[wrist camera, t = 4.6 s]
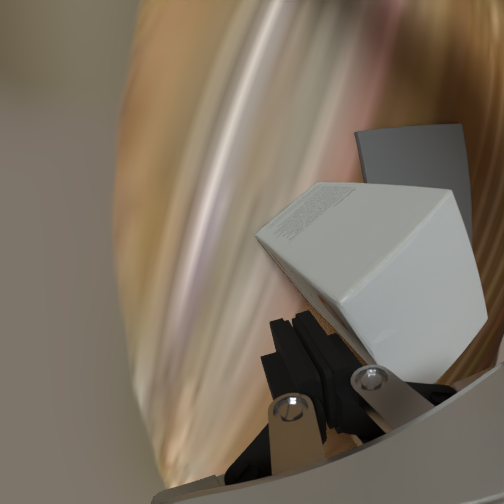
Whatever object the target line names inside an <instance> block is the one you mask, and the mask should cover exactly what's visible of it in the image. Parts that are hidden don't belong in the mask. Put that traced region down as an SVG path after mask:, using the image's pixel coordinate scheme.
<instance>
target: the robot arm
mask: <svg viewBox="0 0 504 504" xmlns="http://www.w3.org/2000/svg"><path fill="white" fill-rule="evenodd" d="M292 324H293V327H292V325H291V324H290V322H289V320H286V321H284V320H283V318H281V319H278V320H274V321H271V322H270V328H271V332H272V336H273V340H274V345H275V349H276V352H275V353H272V354H268V355H265V356H261V361H262V364H263V368H264V371H265V375H266V378H267V382H268V385H269V388H270V391H271V394H272V398H273V402H272V403H271V404H270V406H269V408H268V422H269V423H268V424H267V425H266V426H265V427H264V429H263V430H262V431H261V432H260V433H259V435H258V436H257V437H256V438H255V439H254V440H253V442H252V443H251V444H250V445H249V446H248V447H247V448H246V450H245V451H244V452H243V453H242V454H241V455H240V456H239V457H238V458H237V460H236V461H235V462H234V463H233V464H232V465H231V466H230V467H229V468H228V470H227V471H226V473H225V474H223V475H220V476H217V477H216V476H215V475H212V476H209V477H206V478H203V479H200V480H197V481H194V482H191V483H188V484H184V485H181V486H177V487H174V488H170V489H166V490H163V491H161V492H159V493H157V494H156V495H155V496H154V497H153V499H152V501H151V504H504V362H502V363H500V364H499V365H497V366H495V367H491V368H488V369H486V370H483V371H481V372H479V373H477V374H474V375H472V376H470V377H467V378H465V379H462V380H460V381H457V382H455V383H453V384H452V387H450V386H446V385H438V384H426V383H416V382H406V381H403V380H401V379H400V378H399V377H398V376H396V375H395V374H394V373H393V372H391V371H390V370H389V369H387V368H386V367H384V366H381V365H366V366H363V365H362V364H361V363H360V362H359V360H358V359H357V358H356V357H355V355H354V354H353V353H352V352H351V350H350V349H349V348H348V347H347V345H346V344H345V343H344V342H343V340H342V339H341V338H340V337H339V335H338V334H337V333H334V334H331V335H327V334H326V333H325V331H324V330H323V329H322V327H321V326H320V324H319V323H318V322H317V320H316V319H315V318H314V316H313V315H312V314H311V312H310V311H309V310H307V311H304V312H301V313H298V314H296V318H293V319H292ZM326 422H327V424H328V426H329V428H330V429H332V428H334V427H335V429H336V431H337V433H338V434H340V433H342V432H343V433H347V434H351V437H352V439H353V441H354V442H355V443H356V444H357V445H358V447H356V448H353V449H351V450H348V451H346V452H343V453H341V454H338V455H335V456H333V457H330V458H327V459H326V458H325V453H324V449H323V444H324V442H325V441H326V439H327V436H326Z"/></svg>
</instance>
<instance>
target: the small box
mask: <svg viewBox="0 0 504 504" xmlns="http://www.w3.org/2000/svg"><path fill="white" fill-rule="evenodd" d="M255 237H256V238H257V239H258V241H259V242H260V243H261V244H262V246H263V247H264V248H265V249H266V251H267V252H268V253H269V254H270V256H271V257H272V258H273V259H274V260H275V262H276V263H277V264H278V265H279V266H280V268H281V269H282V270H283V271H284V273H285V274H286V275H287V276H288V277H289V279H290V280H291V281H292V282H293V284H294V285H295V286H296V287H297V288H298V290H299V291H300V292H301V293H302V294H303V296H304V297H305V298H306V299H307V300H308V302H309V303H310V304H311V305H312V306H313V307H314V308H315V309H316V310H317V311H318V312H319V313H320V314H321V315H322V316H323V317H324V318H325V319H326V320H327V321H328V322H329V323H330V324H331V325H332V326H333V327H334V328H335V329H336V330H337V332H338V333H339V334H340V335H341V336H342V337H343V338H344V339H345V340H346V341H347V342H348V343H349V344H350V345H351V347H352V348H353V349H354V350H355V351H356V352H357V353H358V354H359V355H360V356H361V357H362V359H363V360H364V361H365V362H366V363H367V364H368V365H381V366H384V367H386V368H387V369H389V370H390V371H391V372H393V373H394V374H395V375H396V376H398V377H399V378H400V379H401V380H403V381H406V382H416V383H426V384H434V383H435V382H436V381H437V380H438V379H439V378H440V377H441V376H442V375H443V374H444V373H445V372H446V371H447V369H448V368H449V367H450V366H451V365H452V364H453V363H454V362H455V361H456V359H457V358H458V357H459V356H460V355H461V354H462V352H463V351H464V350H465V349H466V347H467V346H468V345H469V344H470V342H471V341H472V340H473V339H474V337H475V336H476V335H477V333H478V332H479V331H480V329H481V328H482V327H483V325H484V324H485V323H486V321H487V320H488V314H487V310H486V304H485V299H484V294H483V289H482V285H481V281H480V276H479V272H478V268H477V265H476V261H475V257H474V254H473V250H472V247H471V244H470V240H469V237H468V234H467V231H466V228H465V225H464V222H463V219H462V216H461V213H460V210H459V208H458V205H457V202H456V200H455V197H454V194H453V192H452V190H449V189H439V188H429V187H417V186H405V185H388V184H369V183H347V182H317V183H316V184H315V185H314V186H312V187H311V188H310V189H309V190H308V191H306V192H305V193H304V194H303V195H302V196H300V197H299V198H298V199H297V200H296V201H294V202H293V203H292V204H291V205H289V206H288V207H287V208H286V209H285V210H283V211H282V212H281V213H280V214H279V215H277V216H276V217H275V218H274V219H273V220H271V221H270V222H269V223H268V224H267V225H265V226H264V227H263V228H262V229H261V230H259V231H258V232H257V233H256V234H255Z"/></svg>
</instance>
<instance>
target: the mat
mask: <svg viewBox="0 0 504 504" xmlns="http://www.w3.org/2000/svg"><path fill="white" fill-rule="evenodd" d="M354 133H355V138H356V142H357V147H358V152H359V157H360V162H361V167H362V173H363V178H364V183H369V184H388V185H405V186H417V187H429V188H439V189H449V190H452V192H453V194H454V197H455V200H456V202H457V205H458V208H459V210H460V213H461V216H462V219H463V222H464V225H465V228H466V231H467V234H468V237H469V240H470V244H471V247H472V205H471V189H470V177H469V168H468V160H467V152H466V145H465V139H464V133H463V128H462V124H436V125H419V126H406V127H394V128H384V129H375V130H366V131H358V132H354Z"/></svg>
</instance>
